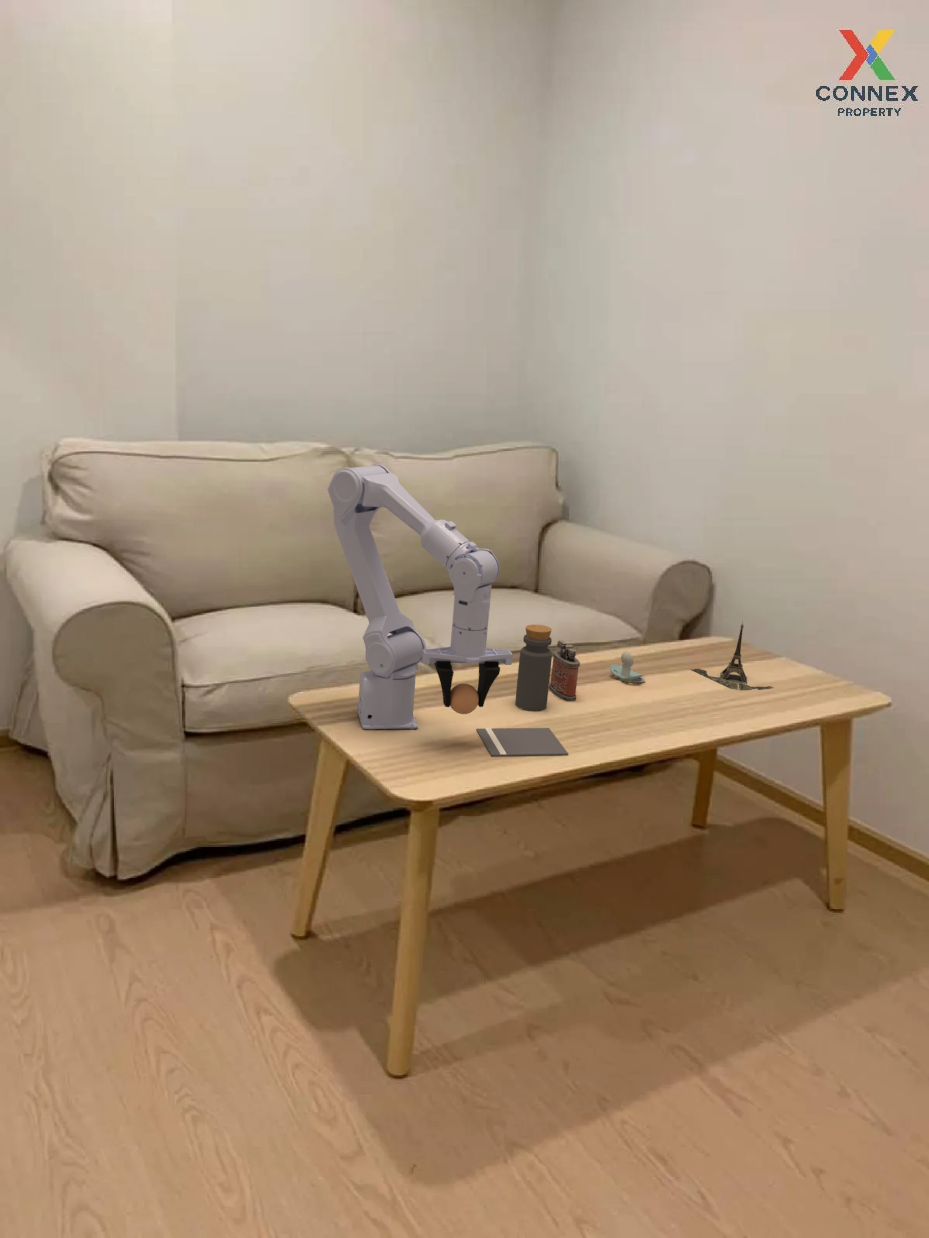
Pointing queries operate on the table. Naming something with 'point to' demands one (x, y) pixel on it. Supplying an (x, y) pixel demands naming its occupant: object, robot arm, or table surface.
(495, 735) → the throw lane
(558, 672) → the lighter
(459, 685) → the ball
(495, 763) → the table surface
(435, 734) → the table surface
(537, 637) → the bottle
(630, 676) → the pacifier
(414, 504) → the robot arm
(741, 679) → the eiffel tower figurine
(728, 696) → the table surface
